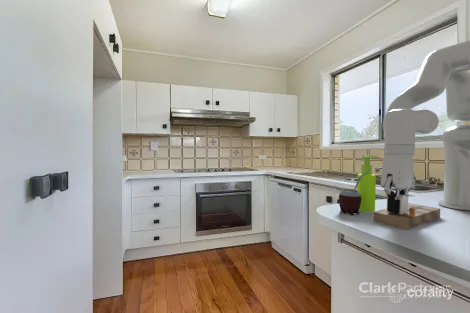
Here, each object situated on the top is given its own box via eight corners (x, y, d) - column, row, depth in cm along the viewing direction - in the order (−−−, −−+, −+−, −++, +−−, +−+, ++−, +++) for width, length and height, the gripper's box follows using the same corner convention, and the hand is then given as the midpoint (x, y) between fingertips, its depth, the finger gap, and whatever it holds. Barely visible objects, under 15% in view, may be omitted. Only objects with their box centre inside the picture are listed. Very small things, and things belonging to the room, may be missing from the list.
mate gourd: (336, 210, 87) (337, 169, 86) (359, 211, 86) (360, 169, 85) (342, 215, 80) (343, 171, 79) (367, 217, 78) (368, 171, 78)
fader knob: (393, 209, 75) (393, 193, 75) (407, 212, 71) (408, 196, 71) (386, 211, 73) (387, 195, 73) (401, 214, 69) (401, 197, 69)
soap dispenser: (380, 212, 83) (382, 156, 83) (359, 211, 85) (360, 155, 84) (374, 208, 89) (375, 155, 88) (354, 207, 90) (355, 155, 90)
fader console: (408, 211, 86) (409, 196, 85) (440, 217, 78) (440, 201, 78) (373, 221, 74) (373, 203, 73) (406, 230, 66) (406, 210, 66)
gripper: (399, 150, 79) (397, 205, 80) (370, 151, 70) (369, 212, 71) (426, 151, 73) (424, 210, 73) (398, 151, 64) (396, 218, 65)
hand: (397, 210), depth 72 cm, fingers closed on fader knob, 4 cm apart
